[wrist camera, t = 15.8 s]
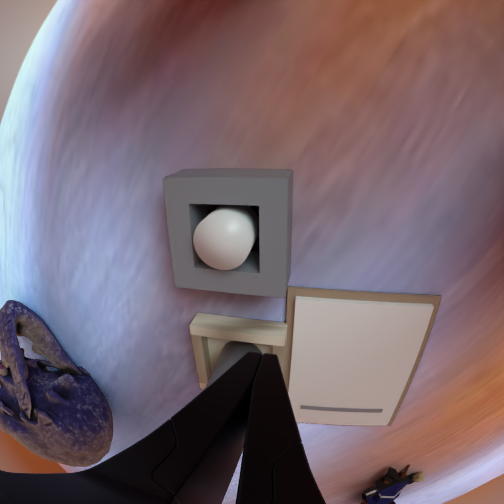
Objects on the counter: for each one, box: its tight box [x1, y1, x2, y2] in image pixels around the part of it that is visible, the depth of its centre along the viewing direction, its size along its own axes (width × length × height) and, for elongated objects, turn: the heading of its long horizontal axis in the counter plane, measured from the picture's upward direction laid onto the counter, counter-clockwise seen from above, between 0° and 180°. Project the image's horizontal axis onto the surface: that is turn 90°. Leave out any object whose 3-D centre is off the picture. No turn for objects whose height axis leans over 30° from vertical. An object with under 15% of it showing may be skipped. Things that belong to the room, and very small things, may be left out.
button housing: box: [163, 169, 293, 298], centre depth 19 cm, size 7×7×3 cm
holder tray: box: [190, 313, 287, 389], centre depth 24 cm, size 7×7×2 cm
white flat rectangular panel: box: [284, 286, 442, 426], centre depth 23 cm, size 11×15×1 cm
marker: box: [205, 341, 262, 389], centre depth 21 cm, size 3×3×7 cm
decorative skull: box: [0, 300, 113, 467], centre depth 28 cm, size 12×18×20 cm
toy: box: [361, 465, 424, 504], centre depth 30 cm, size 9×6×15 cm
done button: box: [193, 204, 259, 270], centre depth 19 cm, size 3×3×3 cm
